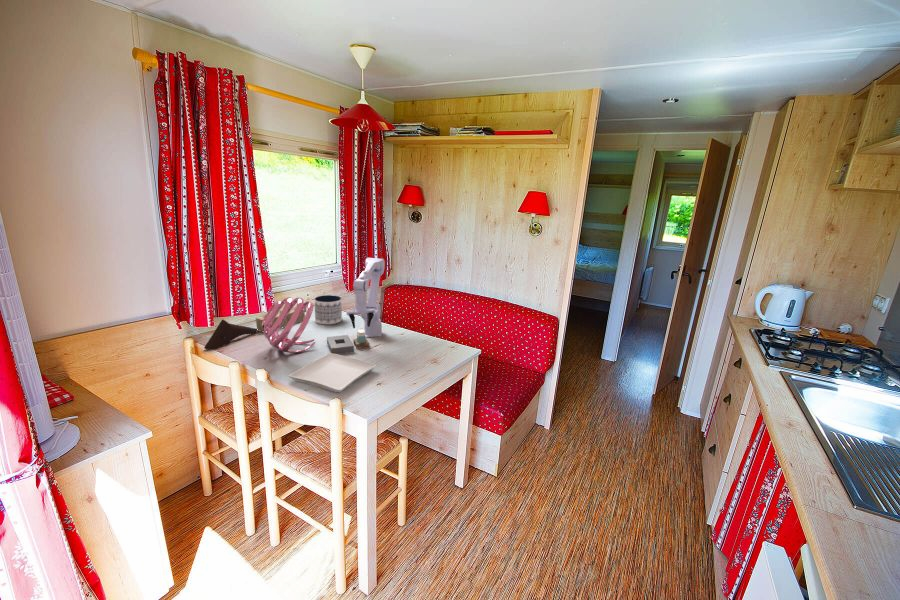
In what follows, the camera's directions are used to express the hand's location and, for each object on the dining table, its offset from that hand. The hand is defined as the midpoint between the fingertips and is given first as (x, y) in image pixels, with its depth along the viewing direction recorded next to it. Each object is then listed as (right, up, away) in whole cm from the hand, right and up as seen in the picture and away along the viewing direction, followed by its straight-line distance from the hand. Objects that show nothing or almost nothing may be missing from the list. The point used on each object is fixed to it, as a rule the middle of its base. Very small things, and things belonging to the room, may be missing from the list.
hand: (361, 327), depth 201 cm
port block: (-11, -11, -2) cm, 15 cm away
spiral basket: (-34, -11, -6) cm, 37 cm away
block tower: (-52, -1, +26) cm, 59 cm away
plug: (-1, -10, +3) cm, 10 cm away
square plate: (-4, -20, -32) cm, 38 cm away
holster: (-66, -8, -2) cm, 67 cm away
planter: (-29, +1, +37) cm, 47 cm away
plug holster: (-1, -10, +3) cm, 10 cm away
